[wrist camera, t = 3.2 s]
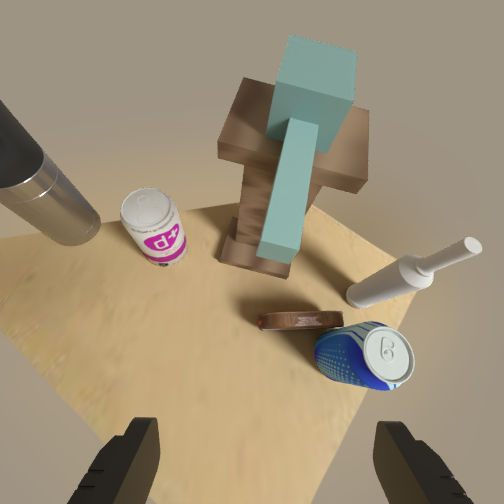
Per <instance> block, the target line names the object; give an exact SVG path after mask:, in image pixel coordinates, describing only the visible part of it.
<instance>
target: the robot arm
mask: <svg viewBox="0 0 504 504" xmlns="http://www.w3.org/2000/svg"><path fill="white" fill-rule="evenodd" d="M0 203H1V204H3V205H4V206H6V207H7V208H9V209H10V210H12V211H13V212H14V213H16V214H17V215H19V216H20V217H21V218H23V219H24V220H26V221H27V222H29V223H30V224H31V225H33V226H34V227H36V228H37V229H39V230H40V231H41V232H43V233H44V234H45V235H47V236H48V237H50V238H51V239H53V240H54V241H55V242H57V243H59V244H61V245H65V246H75V245H79V244H82V243H85V242H87V241H88V240H90V239H91V238H92V237H93V236H95V234H96V233H97V232H98V230H99V228H100V223H101V222H100V217H99V215H98V213H97V212H96V211H95V210H94V209H93V207H92V206H91V205H90V204H89V203H88V201H87V200H86V199H85V198H84V197H83V196H82V195H81V193H80V192H79V191H78V190H77V189H76V188H75V186H74V185H73V184H72V183H71V182H70V181H69V179H68V178H67V177H66V176H65V175H64V174H63V173H62V171H61V170H60V169H59V168H58V167H57V166H56V164H55V163H54V162H53V161H52V160H51V159H50V158H49V156H48V155H47V154H46V153H45V152H44V151H43V149H42V148H41V147H40V146H39V145H38V144H37V142H36V141H35V140H34V139H33V138H32V137H31V136H30V134H29V133H28V132H27V131H26V130H25V129H24V127H23V126H22V125H21V124H20V123H19V122H18V120H17V119H16V118H15V117H14V116H13V115H12V113H11V112H10V111H9V110H8V109H7V108H6V106H5V105H4V104H3V103H2V101H1V100H0ZM159 460H160V442H159V432H158V422H157V419H156V418H149V417H135V418H134V419H133V420H132V421H131V423H130V424H129V426H128V428H127V430H126V431H125V433H124V435H123V436H116V435H115V436H114V437H113V438H112V439H111V440H110V441H109V442H108V443H107V444H106V445H105V446H104V447H103V448H102V449H101V450H100V451H99V453H98V454H97V456H96V458H95V459H94V461H93V463H92V464H91V466H90V467H89V469H88V473H86V474H85V475H84V477H83V479H82V480H81V482H80V484H79V485H78V489H77V490H75V492H74V493H73V495H72V497H71V498H70V500H69V501H68V503H67V504H145V503H146V500H147V497H148V495H149V492H150V489H151V486H152V484H153V481H154V478H155V475H156V472H157V469H158V465H159ZM373 462H374V467H375V471H376V474H377V476H378V479H379V481H380V483H381V486H382V488H383V490H384V492H385V495H386V497H387V499H388V502H389V504H474V503H473V502H472V500H471V499H470V498H468V497H467V495H466V492H465V491H464V490H463V488H462V487H461V485H460V484H459V483H458V481H457V480H455V478H454V476H453V475H452V473H451V471H450V470H449V469H448V467H447V466H446V465H445V463H444V462H443V460H442V459H441V458H440V456H439V455H438V454H436V453H435V452H434V451H433V450H432V449H431V448H430V447H429V446H428V445H427V444H426V443H424V442H423V441H422V440H418V441H417V440H415V439H414V438H413V436H412V435H411V433H410V432H409V430H408V429H407V427H406V426H405V425H404V424H403V423H402V422H400V421H379V422H378V423H377V428H376V435H375V442H374V449H373Z"/></svg>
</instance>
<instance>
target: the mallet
mask: <svg viewBox="0 0 504 504" xmlns="http://www.w3.org/2000/svg"><path fill="white" fill-rule="evenodd" d="M356 60H357V52H355V51H352V50H348V49H344V48H341V47H337V46H333V45H329V44H325V43H322V42H318V41H314V40H311V39H307V38H303V37H300V36H296V35H292V34H290V37H289V41H288V44H287V47H286V50H285V54H284V57H283V60H282V63H281V66H280V70H279V73H278V76H277V80H276V84H275V89H274V94H273V99H272V104H271V109H270V114H269V120H268V125H267V130H266V135H265V137H266V138H270V139H273V140H277V141H281V142H283V145H282V149H281V153H280V157H279V161H278V166H277V170H276V174H275V178H274V182H273V186H272V190H271V195H270V199H269V203H268V207H267V211H266V215H265V220H264V224H263V228H262V232H261V236H260V240H259V245H258V249H257V253H256V256H258V257H262V258H266V259H270V260H274V261H278V262H282V263H285V264H290V263H291V261H292V260H293V258H294V257H295V256H296V254H297V253H298V251H299V249H300V243H301V236H302V230H303V223H304V217H305V211H306V204H307V198H308V191H309V185H310V178H311V172H312V166H313V159H314V153H315V151H319V152H323V153H327V152H328V151H329V149H330V147H331V145H332V143H333V141H334V139H335V137H336V135H337V133H338V131H339V129H340V127H341V125H342V123H343V121H344V119H345V118H346V116H347V114H348V112H349V110H350V108H351V106H352V104H353V102H354V90H355V75H356Z"/></svg>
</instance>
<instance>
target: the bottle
mask: <svg viewBox="0 0 504 504" xmlns="http://www.w3.org/2000/svg"><path fill="white" fill-rule="evenodd" d="M481 251H482V246H481V244H480V243H479V242H478V241H477V240H476V239H474V238H472V237H467V238H465V239H463V240H461V241H459V242H457V243H455V244H453V245H451V246H450V247H447V248H445V249H444V250H441V251H439V252H437V253H435V254H433V255H431V256H429V257H427V258H421V257H419V256H417V255H413V254H409V255H405V256H403V257H401V258H400V259H398V260H396V261H395V262H393V263H391V264H390V265H388V266H386V267H385V268H383V269H381V270H379V271H378V272H376V273H374V274H373V275H371V276H369V277H368V278H366V279H364V280H363V281H361V282H359V283H355V284H353V285H351V286H350V287H349V288H348V290H347V291H346V299H347V301H348V303H349V304H350V305H351V306H352V307H354V308H357V309H364V308H368V307H369V306H371V305H373V304H376V303H379V302H382V301H385V300H389V299H392V298H395V297H398V296H401V295H405V294H408V293H411V292H414V291H417V290H421V289H424V288H427V287H428V286H429V285H431V284H432V281H433V273H434V271H436V270H439V269H441V268H443V267H446V266H448V265H451V264H453V263H455V262H458V261H460V260H464V259H467V258H469V257H471V256H474V255H477V254H479V253H480V252H481Z"/></svg>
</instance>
